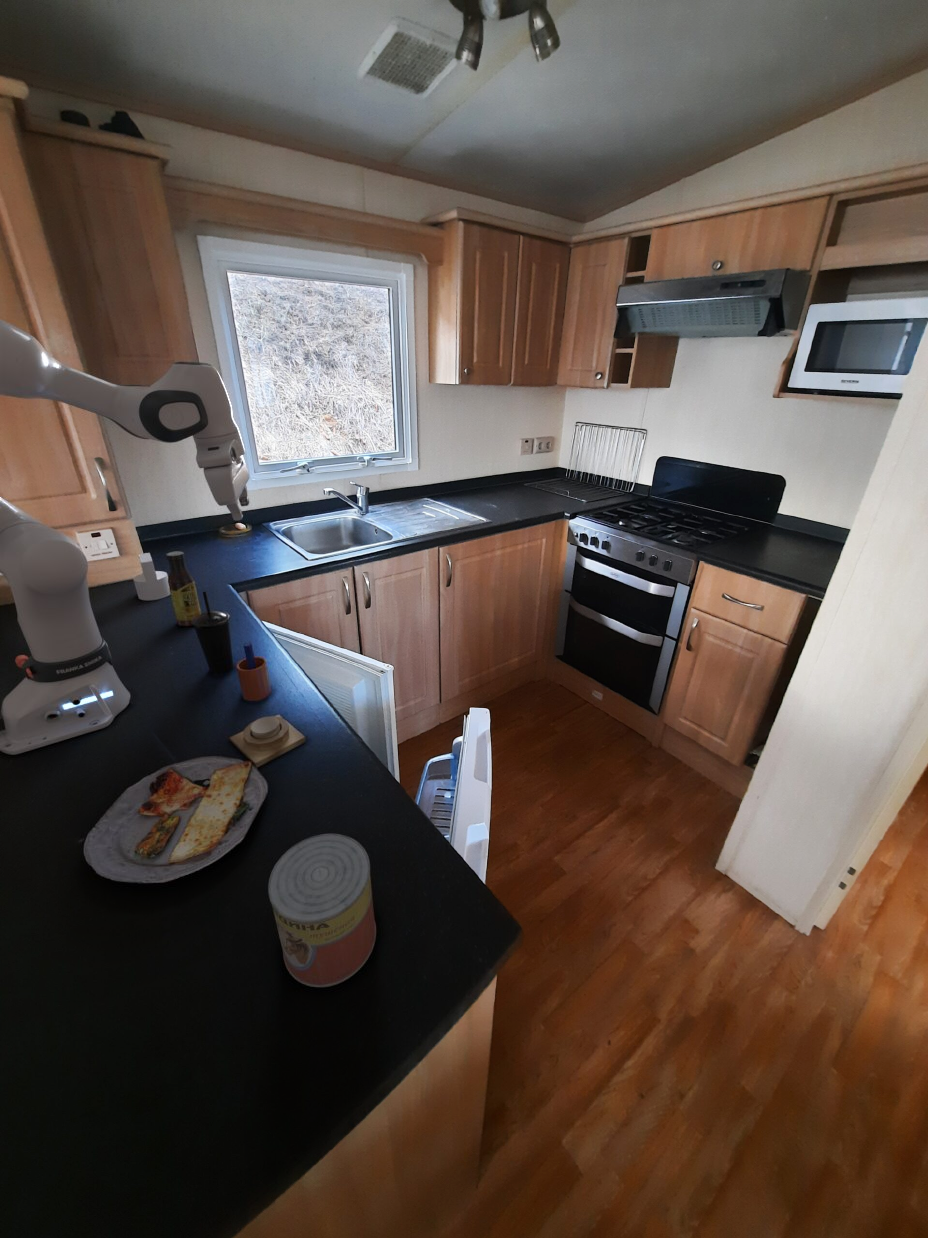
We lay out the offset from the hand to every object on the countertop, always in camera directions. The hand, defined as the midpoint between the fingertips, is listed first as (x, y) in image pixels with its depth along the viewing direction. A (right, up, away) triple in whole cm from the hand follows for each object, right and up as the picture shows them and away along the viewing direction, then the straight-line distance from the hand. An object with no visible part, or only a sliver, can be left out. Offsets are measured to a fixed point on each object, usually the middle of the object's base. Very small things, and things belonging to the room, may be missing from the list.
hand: (242, 511), depth 112 cm
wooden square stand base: (+12, -47, -16) cm, 51 cm away
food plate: (+5, -55, -32) cm, 64 cm away
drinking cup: (-7, -36, +7) cm, 37 cm away
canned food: (+32, -64, -48) cm, 86 cm away
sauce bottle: (-27, -25, +29) cm, 46 cm away
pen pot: (+4, -40, -2) cm, 40 cm away
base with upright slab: (-47, -16, +45) cm, 67 cm away
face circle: (+12, -45, -17) cm, 49 cm away
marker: (+4, -40, -2) cm, 40 cm away
